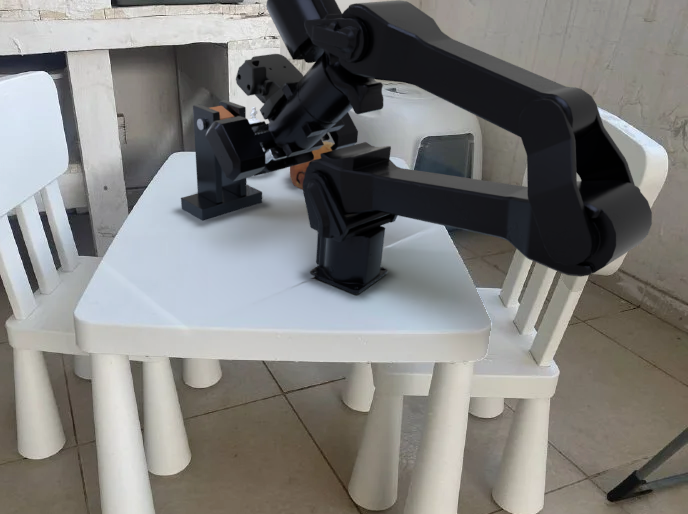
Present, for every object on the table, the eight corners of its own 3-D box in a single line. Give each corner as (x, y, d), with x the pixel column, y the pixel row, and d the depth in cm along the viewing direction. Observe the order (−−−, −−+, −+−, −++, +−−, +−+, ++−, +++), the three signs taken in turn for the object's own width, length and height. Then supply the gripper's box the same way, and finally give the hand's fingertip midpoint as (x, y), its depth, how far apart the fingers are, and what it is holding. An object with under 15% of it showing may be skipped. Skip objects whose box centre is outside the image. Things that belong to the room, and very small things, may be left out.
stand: (262, 205, 85) (262, 104, 78) (202, 223, 79) (197, 116, 72) (240, 194, 88) (238, 96, 81) (181, 211, 82) (174, 108, 75)
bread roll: (352, 199, 97) (356, 148, 96) (354, 195, 87) (358, 137, 86) (290, 195, 98) (293, 144, 97) (285, 190, 87) (288, 134, 86)
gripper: (348, 25, 69) (282, 104, 81) (212, 39, 58) (160, 127, 71) (394, 111, 68) (319, 177, 81) (264, 141, 57) (202, 212, 70)
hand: (254, 171), depth 75 cm, fingers closed
